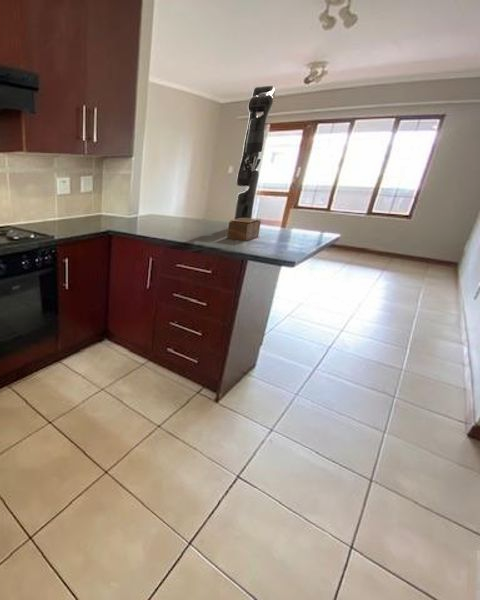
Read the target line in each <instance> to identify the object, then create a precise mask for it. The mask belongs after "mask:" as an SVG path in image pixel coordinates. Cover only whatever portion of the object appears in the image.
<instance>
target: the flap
mask: <svg viewBox="0 0 480 600" xmlns="http://www.w3.org/2000/svg"><path fill="white" fill-rule="evenodd" d="M238 219H241V220H251V221H258V220H259V221H261V220H262V219H261V218H238Z"/></svg>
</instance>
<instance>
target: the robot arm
mask: <svg viewBox="0 0 480 600" xmlns="http://www.w3.org/2000/svg"><path fill="white" fill-rule="evenodd" d="M275 95H276V88H275V86H273V85H264V86H256V87H254V88H253V90H252V94H251V97H250V98H249V100H248V104H247V110H248V113H249V115H248V121H247V127H246V131H245V136H244V141H243V148H242V155H241V158H240V163H239V167H238V171H237V176H236V186H238V187H248V188H247V189H246V190H244V191H241V192H239V193H238V194H237V198H236V204H235V211H234V219H238V218H252V217H253V210H254V202H255V196H256V192H257V186H258V183H259V182H258V181H259V177H260V173H259V170H258V166H259V164H260V163H261V158H259V157H260V154H259V153H261V152H263V146H264V139H265V130H266V124H267V120H268V119H267V118H268V116H269V113H270V111H271V109H272V106H273V104H274V99H275ZM258 113H259V114H260V113H261V115H260V116H259V115H258ZM234 219H233V220H234ZM252 219H253V218H252Z"/></svg>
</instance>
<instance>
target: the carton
mask: <svg viewBox="0 0 480 600" xmlns="http://www.w3.org/2000/svg"><path fill="white" fill-rule="evenodd" d="M261 222H262V221H261V220H258V221H251V220H241V219H230V220H229V222H228V229H227V235H226V239H231V240H238V241H249V240H252V239H256V238H259V236H260V228H261Z"/></svg>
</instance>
